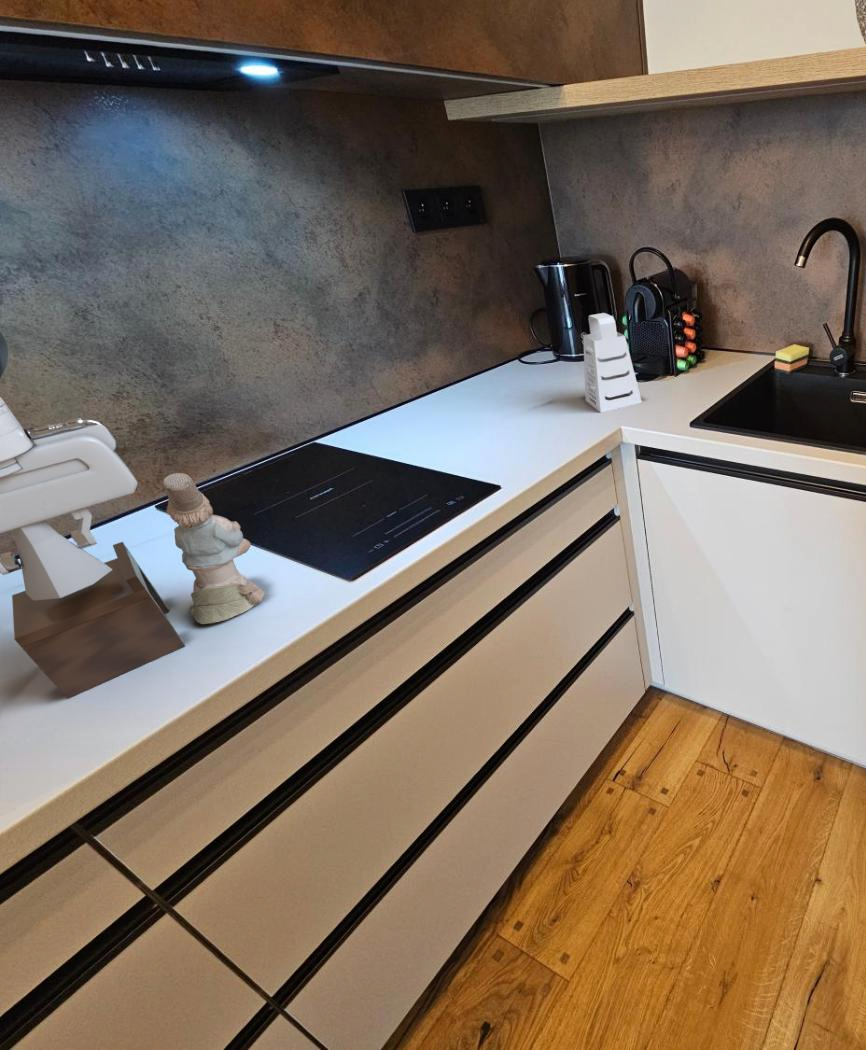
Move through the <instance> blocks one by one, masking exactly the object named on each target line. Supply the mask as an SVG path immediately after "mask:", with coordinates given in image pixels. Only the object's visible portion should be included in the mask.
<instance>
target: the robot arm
mask: <svg viewBox="0 0 866 1050" xmlns="http://www.w3.org/2000/svg"><path fill="white" fill-rule="evenodd" d="M8 359H9V349H8V344H7V341H6V339H5V337H4V335H3V334H2V332H1V331H0V379H1V378H2V376H3V375H4V373H5V371H6V368H7V364H8ZM87 424H88V425H87ZM117 445H118V444H117V440H116V438H115V437H114V435H113V433H112V432H111V430H110V429H109V427H108V426H107V425H105V424H103V423H102V422H99V421H97V420H92V419H83V418H82V417H74V418H70V419H66V420H65V421H61V422H57V423H50V424H43V425H40V426H35V427H29V428H23V426H22V425H21V423H20V422H19V420H18V419H17V417H16V416H15V415H14V414H13V412H12V410H11V409H10V408H9V406H8V404H7V403H6V402H5V400H4V399H3V398H2V397H1V396H0V534H3V533H4V534H5V533H6V532H11V531H10V530H14V529H17V528H20V527H24V526H27V525H30V524H33V523H37V522H40V521H43V520H44V521H46V520H49V519H50V520H51V519H53V518H56V517H59V516H63V515H67V514H70V515H71V516H72V517H73V519H74V520H75V521H79V527H78V529H75V530H73V531H70V536H71V539H72V540H73V541H74V543H75V544H76V546H78V547H79V548H80V549H83V550H84V549H86V548H89V547H92V546H95V545H98V542H97V540H96V538H95V537H94V535H93V533H92V532H91V525H92V519H93V514H92V511H91V509H90V508H89V507H92V506H93V507H94V506H97V505H98V504H102V503H105V502H109V501H112V500H116V499H120V498H122V497H125V496H129V495H132V494H134V493H135V492H136V490H137V487H138V484H139V483H138V480H137V478H136V477H135V475H134V474H133V473H132V471H131V470H130V468H129V466H127V465H126V463H125V462H124V461H123V459H121V457H120V456H119V455H118V453H117V452H116V449H117ZM20 570H22V565H21V562H20V560H19V559H18V558H16V556H15V554H14V553H13V552H12V551H6V552H4V553H0V574H1V575H3V576H5V575H8V574H11V573H13V572H17V571H20Z"/></svg>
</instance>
